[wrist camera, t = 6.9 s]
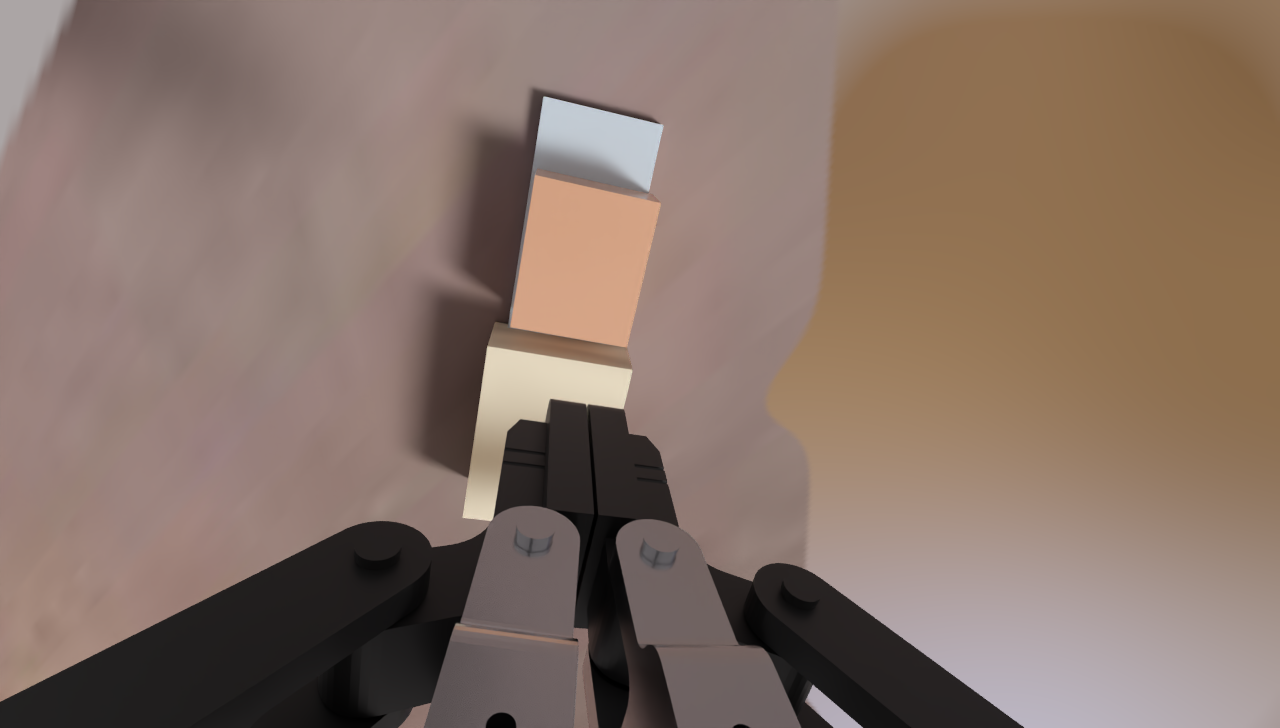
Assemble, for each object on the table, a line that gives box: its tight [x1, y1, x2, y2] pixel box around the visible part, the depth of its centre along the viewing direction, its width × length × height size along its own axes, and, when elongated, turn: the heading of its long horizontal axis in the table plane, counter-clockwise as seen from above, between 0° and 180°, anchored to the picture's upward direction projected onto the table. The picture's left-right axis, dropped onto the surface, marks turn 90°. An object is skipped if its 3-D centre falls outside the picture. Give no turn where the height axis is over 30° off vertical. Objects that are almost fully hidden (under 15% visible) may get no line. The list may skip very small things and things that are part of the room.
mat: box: [508, 96, 664, 346], centre depth 22 cm, size 8×4×1 cm, turn 167°
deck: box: [463, 322, 633, 521], centre depth 24 cm, size 7×5×2 cm
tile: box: [510, 168, 661, 348], centre depth 21 cm, size 5×4×2 cm
